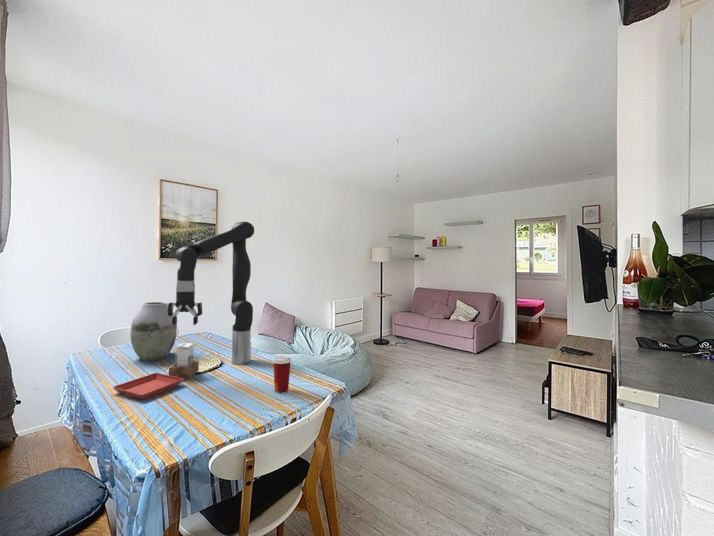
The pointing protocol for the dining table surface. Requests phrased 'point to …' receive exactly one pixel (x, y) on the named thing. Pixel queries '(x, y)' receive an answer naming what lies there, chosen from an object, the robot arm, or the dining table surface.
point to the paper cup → (281, 373)
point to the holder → (184, 370)
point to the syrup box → (184, 355)
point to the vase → (153, 331)
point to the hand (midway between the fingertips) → (185, 324)
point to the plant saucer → (148, 385)
